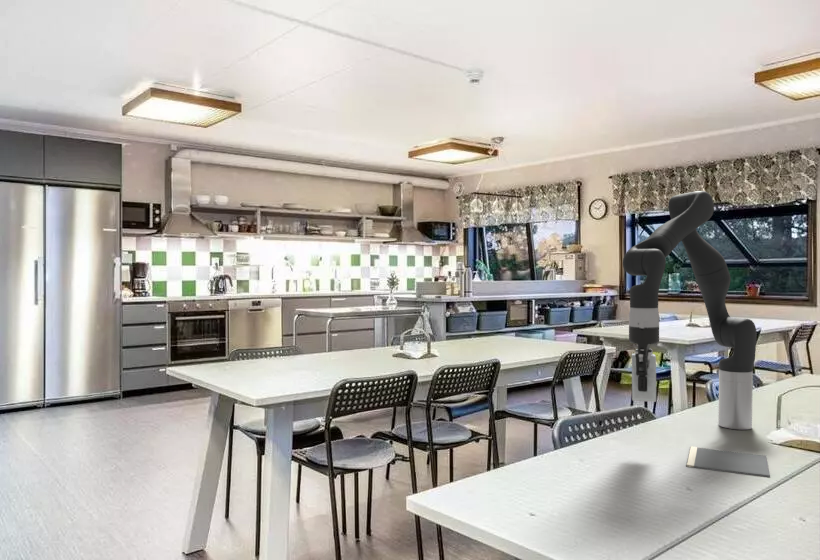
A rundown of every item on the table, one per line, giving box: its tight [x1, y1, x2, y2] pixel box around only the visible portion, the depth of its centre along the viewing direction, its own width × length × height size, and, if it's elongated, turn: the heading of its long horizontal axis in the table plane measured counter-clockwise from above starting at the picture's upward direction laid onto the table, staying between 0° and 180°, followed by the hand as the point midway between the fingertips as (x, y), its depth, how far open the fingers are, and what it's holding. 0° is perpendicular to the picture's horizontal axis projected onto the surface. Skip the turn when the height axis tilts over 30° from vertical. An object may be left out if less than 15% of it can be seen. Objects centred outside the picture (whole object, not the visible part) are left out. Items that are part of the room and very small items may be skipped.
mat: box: [685, 446, 771, 478], centre depth 163 cm, size 18×18×1 cm
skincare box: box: [631, 353, 657, 403], centre depth 172 cm, size 6×4×12 cm
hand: (643, 389), depth 172 cm, fingers closed on skincare box, 4 cm apart
